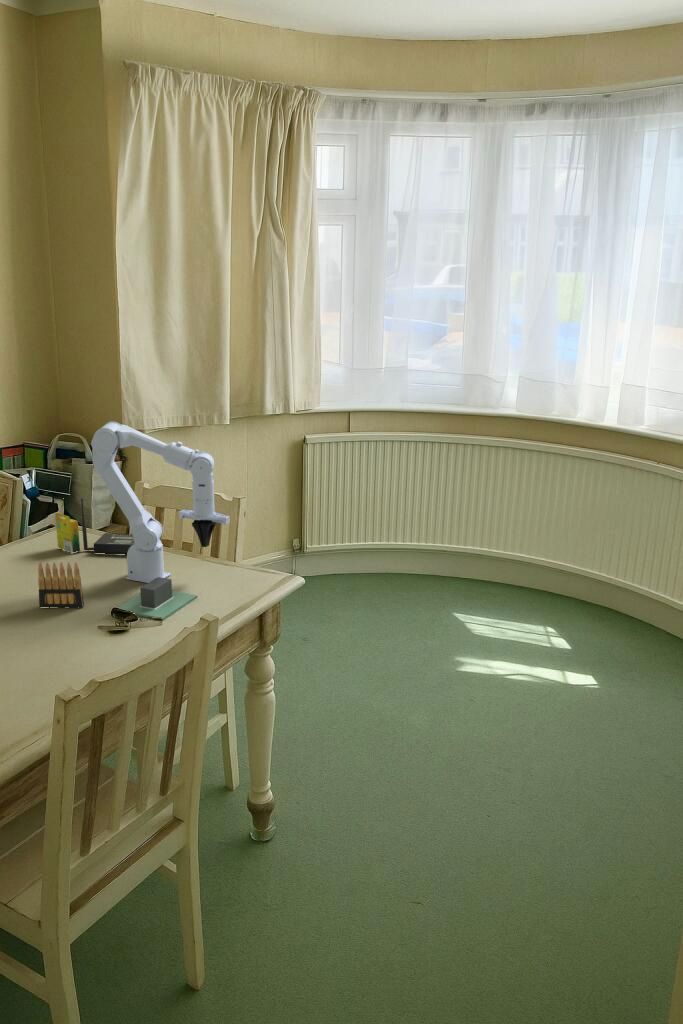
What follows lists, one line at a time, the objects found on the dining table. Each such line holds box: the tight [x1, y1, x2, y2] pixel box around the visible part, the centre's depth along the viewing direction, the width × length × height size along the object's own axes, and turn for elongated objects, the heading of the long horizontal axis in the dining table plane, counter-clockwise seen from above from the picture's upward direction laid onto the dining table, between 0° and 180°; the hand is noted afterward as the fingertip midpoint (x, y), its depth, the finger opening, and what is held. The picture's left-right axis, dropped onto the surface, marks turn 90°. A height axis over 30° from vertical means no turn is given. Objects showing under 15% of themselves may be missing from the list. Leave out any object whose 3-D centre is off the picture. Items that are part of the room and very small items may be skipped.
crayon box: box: [54, 512, 81, 552], centre depth 253 cm, size 7×3×12 cm, turn 52°
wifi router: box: [80, 497, 135, 555], centre depth 255 cm, size 20×14×17 cm
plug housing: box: [140, 577, 173, 609], centre depth 216 cm, size 4×8×5 cm, turn 159°
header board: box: [117, 590, 198, 621], centre depth 217 cm, size 14×16×3 cm
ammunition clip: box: [37, 562, 85, 609], centre depth 213 cm, size 11×2×12 cm, turn 93°
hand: (205, 545), depth 232 cm, fingers closed
